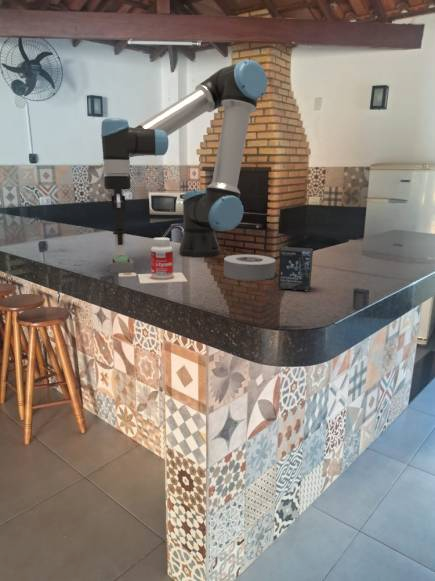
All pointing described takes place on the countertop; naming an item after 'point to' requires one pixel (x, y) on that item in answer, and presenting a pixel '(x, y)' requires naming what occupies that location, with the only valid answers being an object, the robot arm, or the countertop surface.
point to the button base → (121, 266)
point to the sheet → (149, 279)
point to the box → (295, 268)
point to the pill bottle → (161, 259)
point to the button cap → (121, 259)
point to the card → (127, 274)
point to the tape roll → (249, 267)
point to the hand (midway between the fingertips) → (120, 255)
